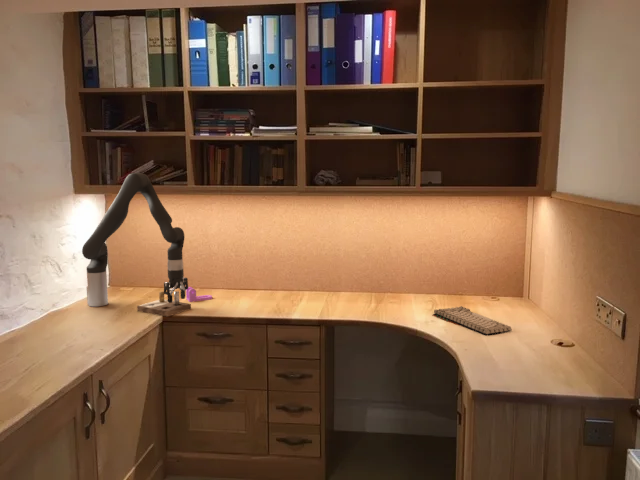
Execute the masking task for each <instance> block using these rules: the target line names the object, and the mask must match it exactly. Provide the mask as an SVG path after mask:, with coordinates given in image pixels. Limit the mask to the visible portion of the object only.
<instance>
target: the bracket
mask: <svg viewBox="0 0 640 480" xmlns="http://www.w3.org/2000/svg"><path fill="white" fill-rule="evenodd" d="M185 299H186V301H187V300H188V301H187V302H189V303H191V302H193V301H194V302H201V301H208V300H212V299H213V295H210V294H205V295H197V290H196V289H195V288H193V287H192V286H188V289H186V291H185Z"/></svg>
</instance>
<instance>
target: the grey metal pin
mask: <svg viewBox="0 0 640 480" xmlns="http://www.w3.org/2000/svg"><path fill="white" fill-rule="evenodd" d="M173 301H174V306H178V305H179V302H180V291H179V290H177V291H176V290H175V291H173Z"/></svg>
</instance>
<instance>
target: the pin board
mask: <svg viewBox="0 0 640 480" xmlns="http://www.w3.org/2000/svg"><path fill="white" fill-rule="evenodd" d="M158 296H159V299H156V300H153V301H149V302H146V303H143V304H140V305H137V306H136V310H137V312H140V313H146V314H151V315H157V316H161V317H171V316H173V315H177V314H180V313H182V312H185V311H189V310H191V309H192V307H191V306H192V303H188V302H181V301H179V305H178V306H174V300H173V302H172V303H169V302H168V299H165V294H164V291H159V292H158Z"/></svg>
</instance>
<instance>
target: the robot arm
mask: <svg viewBox="0 0 640 480" xmlns="http://www.w3.org/2000/svg"><path fill="white" fill-rule="evenodd" d="M137 193H140V194H142V196H143V197H144V199H145V200H146V202H147V204H148V209H149V212H150V214H151V216H152V217H153V219H154V220H155V223H157V225H158V226H159V230H160V233H161V235H162V237H163V239H164V240H165V241H166V242H168V243H170V244H171V245H170V246H169V247H168V248H167V265H166V267H167V278H168V279H169V280H168V281H164V282H163V292H164V295H166V296H167V300H168V302H169V303H172V302H173V301H174V298H173V294H174V292H175V291H176V290H177V289H179V290H180V291H179V294H180V299H181V300H182V299H183V300H184V299H186V289H188V287H189V282H188V281H189V280H188V277H184V276H185V275H184V260H183V258H184V257H183V247H184V243H185V232H184V230H183V228H181V227H178V226H176V227H173V226H172V222H173V218H172V217H171V215H170V214H169V212H168V211H167V209H166V208H165V206H164V204H163V203H162V202H161V200H160V198H159V196H158V194H157V191H156V190H155V188H154V186H153V183H152V182H151V180H150V178H149V176H148V175H147V174H145V173H141V172H132V173H129V174H128V175H127V176H126V177H125V178H124V181H123V183H122V185H121V187H120V189H119V192H118V193H117V195H116V197H114V200H113V201H112V203H111V204H110V206H109V207H108V209H107V210H106V212H105V214H104V215H103V216H102V218H101V220H100V222H99V223H98V225H97V227H96V228H95V230H94V231H93V232H92V234H91V235H90V236H89V238H88V239H87V240H86V241H85V243H84V244H83V246H82V250H81V252H82V256H83V257H84V258H85V259H86V260H90V261H89V264H88V265H87V266H86V279H87V280H86V281H87V282H86V283H87V285H86V297H87V298H86V300H87V303H86V304H87V305H88V306H89V307H96V308H97V307H104V306H107V305H108V304H109V298H108V297H109V295H108V294H109V293H108V278H107V277H108V276H107V275H108V274H107V267H108V265H109V264H108V263H109V262H108V261H109V258H108V257H109V256H108V255H109V253H108V246H107V244H106V241H107V240H108V239H109V238H110V237H111V236H112V235H113V234H114V233H116V231H118V230H119V228H120V227H121V226H122V224H123V223H124V222H125V220H126V218H127V216H128V213H129V208H130V203H131V201H132V200H133V198H134V196H135V195H136V194H137Z"/></svg>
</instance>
